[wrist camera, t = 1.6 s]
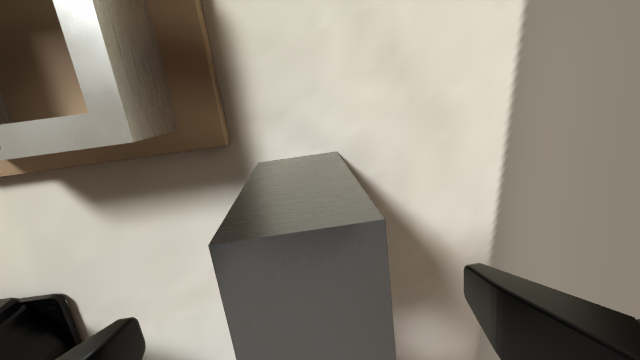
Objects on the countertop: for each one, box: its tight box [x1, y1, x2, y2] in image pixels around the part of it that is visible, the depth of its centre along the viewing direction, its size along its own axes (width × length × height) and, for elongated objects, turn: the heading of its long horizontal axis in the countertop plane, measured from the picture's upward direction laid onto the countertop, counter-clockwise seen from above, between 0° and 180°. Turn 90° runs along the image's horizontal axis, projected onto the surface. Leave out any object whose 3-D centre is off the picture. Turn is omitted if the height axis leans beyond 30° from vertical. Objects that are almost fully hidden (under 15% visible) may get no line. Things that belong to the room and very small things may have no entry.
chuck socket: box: [0, 0, 179, 160], centre depth 12 cm, size 9×9×4 cm
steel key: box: [208, 152, 396, 360], centre depth 13 cm, size 4×4×10 cm
